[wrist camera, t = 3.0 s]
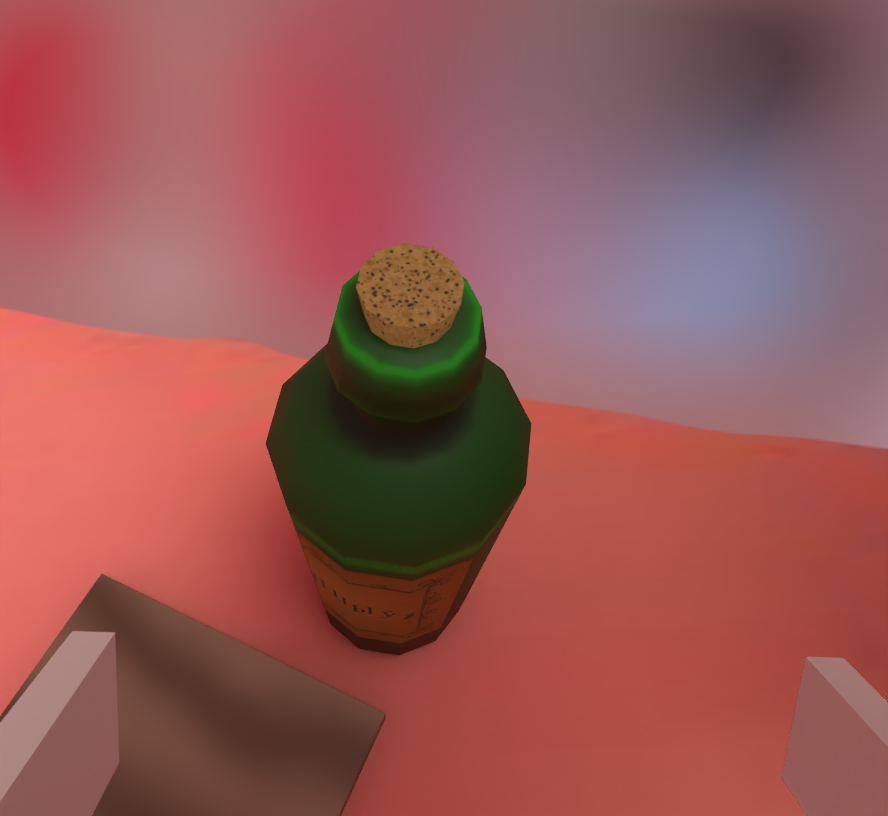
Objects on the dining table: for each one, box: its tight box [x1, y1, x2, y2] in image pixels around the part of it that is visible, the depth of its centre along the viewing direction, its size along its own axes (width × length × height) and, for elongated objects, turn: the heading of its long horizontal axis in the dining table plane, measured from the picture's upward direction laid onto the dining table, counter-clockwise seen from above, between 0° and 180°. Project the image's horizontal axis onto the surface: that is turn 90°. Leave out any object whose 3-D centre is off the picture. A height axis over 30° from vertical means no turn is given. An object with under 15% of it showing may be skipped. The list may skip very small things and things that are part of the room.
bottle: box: [266, 244, 531, 655], centre depth 36 cm, size 11×11×28 cm
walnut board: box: [0, 574, 386, 816], centre depth 40 cm, size 18×18×2 cm
